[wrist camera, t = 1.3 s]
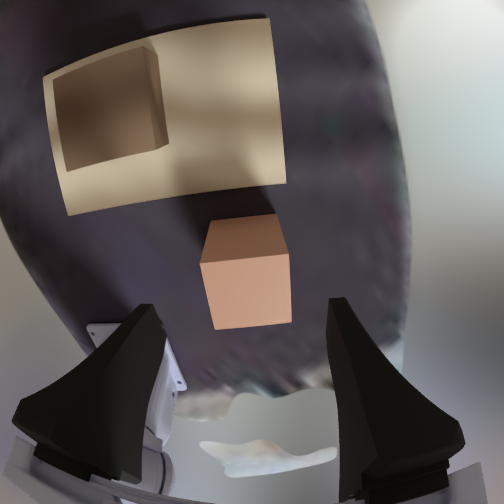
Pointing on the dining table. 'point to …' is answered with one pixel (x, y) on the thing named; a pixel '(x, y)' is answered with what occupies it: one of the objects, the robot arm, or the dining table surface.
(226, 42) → the board
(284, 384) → the dining table surface
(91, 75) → the base block
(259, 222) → the top block
